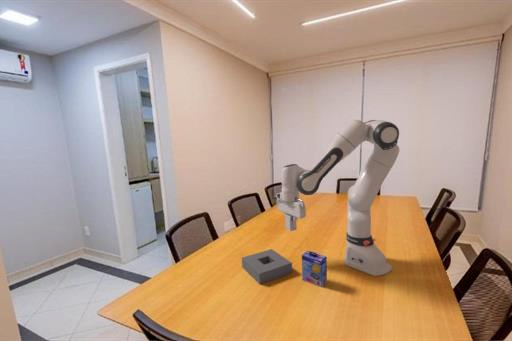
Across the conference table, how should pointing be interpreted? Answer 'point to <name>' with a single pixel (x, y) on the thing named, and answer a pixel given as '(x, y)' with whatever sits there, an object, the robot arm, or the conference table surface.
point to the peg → (290, 223)
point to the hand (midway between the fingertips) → (290, 222)
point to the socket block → (266, 266)
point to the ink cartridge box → (314, 268)
